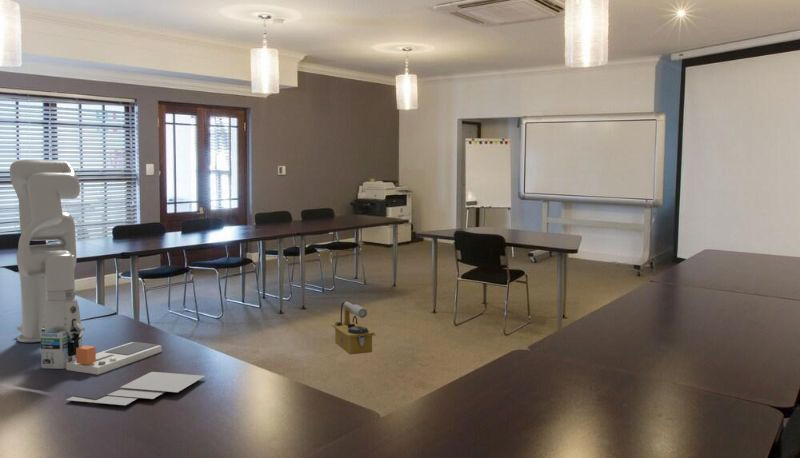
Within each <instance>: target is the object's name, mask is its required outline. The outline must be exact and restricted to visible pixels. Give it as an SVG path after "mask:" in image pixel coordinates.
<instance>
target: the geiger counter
mask: <svg viewBox="0 0 800 458" xmlns="http://www.w3.org/2000/svg"><path fill="white" fill-rule="evenodd" d="M343 306H344V307H343ZM343 308H344V313H343ZM343 314H344V316H343ZM350 314H351V315H354V316H353V317H352V322H351V320H350V319H351V316H350ZM367 315H368V310H367V309H366V308H364V307H362V306H361V305H360V304H352V303H351V302H349V301H345V302H342V303H341V307H340V321H337V322H334V324H332V327H333V328H334V331H335V332H334V337H335V338H334V339H335V340H334V343H335V344H336V346H338V347H340V349H341V350H344V352H346V353H347V354H348V355H359V354H366V353H367V354H369V353H373V337H375V336H376V335H377V334H376V333H375V332H374V331H373V330H371V329H369V328H368V327H366V326H365V325H363V324H361V323H359V321H358V318H361V319H364V318H366V317H367ZM343 317H344V320H343ZM357 317H358V318H357ZM343 321H344V322H343ZM354 321H355V322H354Z"/></svg>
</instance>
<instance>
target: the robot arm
mask: <svg viewBox="0 0 800 458" xmlns="http://www.w3.org/2000/svg"><path fill="white" fill-rule="evenodd" d="M9 177H10V182H11V184H12V187H13V189H14V191H15V193H16V196H17V200H18V209H19V210H18V213H19V227H20V228H19V229H20V236H19V240H18V243H17V244H18V246H17V248H18V251H17V253H16V263H17V268H18V272H19V273H18V274H19V280H20V295H21V299H20V300H21V320H22V323H21V324H20V326H17V327H16V330H17V331H20V334H19V335H18V336H17V337H16V338H17V342H20V343H41V332H43V331H46V330H48V329H52V330H59V331H65V332H66V334H67V335H68V340H69V342H70V343H68V356H74V355H76V348H78V347H79V341H80V338H81V337H82V338H83V334H84V332H85V330H86V329H85V327H84V326H83V325H82V324H81V323H82V322H81V321H82V320H81V314H80V313H81V312H80V306H79V302H78V299H76V289H75V285H76V284H75V283H76V282H75V267H76V266H77V265H76V264H77V259H78V258H77V242H76V238H77V237H76V225H75V224H76V223H75V221H74V217H73V216H72V215H71V214H70V213H69V212H67V211H66V212H65V211H63V208H62V201H61V200H69V199H71V200H73V199H77V198H78V197H79V195H80V193H81V185H80V180H79V177H78V175H77V172H76V171H75V170H74V167H73V166H72V165H71V163H70V162H68V161H65V160H53V159H51V160H46V159H45V160H44V159H19V160H16V161H13V162H12V163H11V164H10V167H9ZM31 241H32V242H34V241H35V242H36V241H37V242H39V241H43V242H44V241H59V243H53V244H52V243H51V244H50V243H48V244H33V245H31V244H30V243H31ZM81 325H82V326H81ZM70 330H72V332H70ZM72 334H73V335H74V337H72Z"/></svg>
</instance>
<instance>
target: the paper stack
mask: <svg viewBox="0 0 800 458" xmlns="http://www.w3.org/2000/svg"><path fill="white" fill-rule="evenodd" d="M204 377H205V375H199V374H186V373H176V372H175V373H173V372H172V373H171V372H159V371H151V372H150V371H149V372H148V373H147V374H144V375H142V376H140V377H138V378H135V379H134V380H132V381H130V382H128V383H126V384H124V385H121V386H120V387H119V389H118V390H116V391H113V392H110V393H108V394H105V395H103V396H101V397H98V398H96V399H95V398H89V397H84V396H78V395H74V396H71V397H69V398H66V401H73V402H82V403H83V402H86V403H95V404H107V405H116V406H117V405H118V406H127V405H129V404H131V403H132V402H134V401H136V400H138V399H147V400H148V399H149V400H154V399H156V398H157V397H159V396H161V395H163V394H164V393H167V392H168V393H179V392H181V391H183V390H184V389H186V388H187V387H189V386H190V385H191V386H192V384H195V383H196V382H197V381H198V382H199V380H201V379H203V378H204Z"/></svg>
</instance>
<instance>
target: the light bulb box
mask: <svg viewBox="0 0 800 458" xmlns="http://www.w3.org/2000/svg"><path fill="white" fill-rule="evenodd" d="M81 326H83V325H82V324H81ZM70 332H72V330H70ZM72 337H74V335H73V334H72ZM68 343H70V342H69V340H68V335H67V334H66V332H65V331H59V330H52V329H48V330H46V331H43V332H41V342H40V356H41V358H40V359H41V369H54V370H55V369H56V370H58V369H59V370H60V369H61V370H64V369H66V363H68V362H71V361H74V360H76V355H74V356H68ZM81 346H83V336H82V337H81V338H80V341H79V347H81Z"/></svg>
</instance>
